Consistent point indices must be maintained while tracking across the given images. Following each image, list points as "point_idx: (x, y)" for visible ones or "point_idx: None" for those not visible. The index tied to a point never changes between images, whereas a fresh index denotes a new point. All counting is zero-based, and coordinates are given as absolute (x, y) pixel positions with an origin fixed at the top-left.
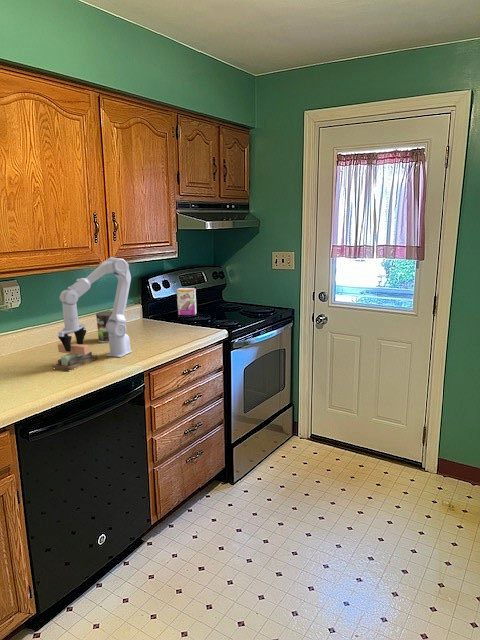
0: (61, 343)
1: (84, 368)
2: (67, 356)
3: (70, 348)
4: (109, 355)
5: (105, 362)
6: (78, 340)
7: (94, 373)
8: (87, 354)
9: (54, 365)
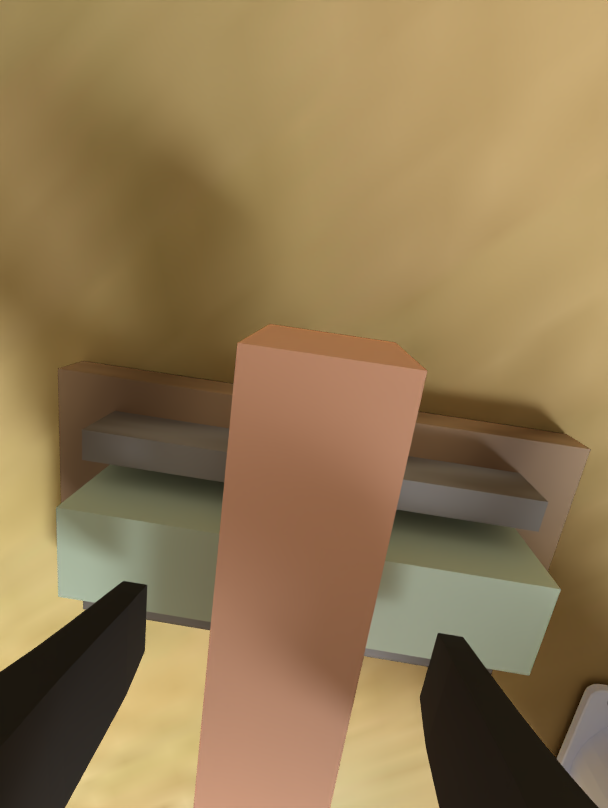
0: (344, 387)
1: (188, 645)
2: (102, 586)
3: (109, 707)
4: (576, 725)
5: (382, 739)
6: (476, 778)
7: (100, 762)
8: (402, 656)
9: (73, 386)
